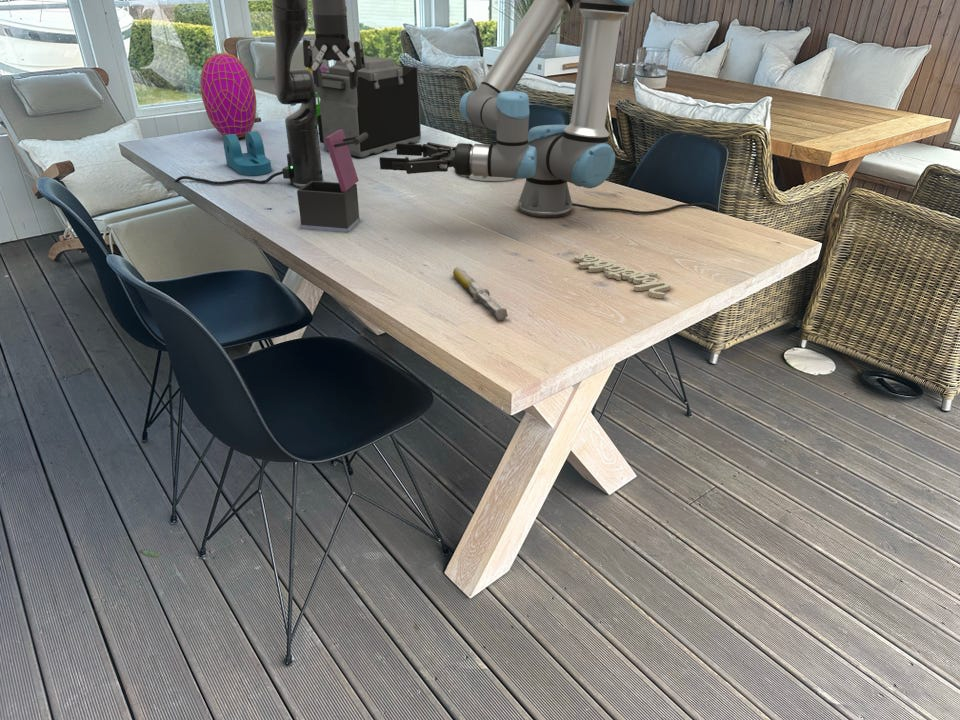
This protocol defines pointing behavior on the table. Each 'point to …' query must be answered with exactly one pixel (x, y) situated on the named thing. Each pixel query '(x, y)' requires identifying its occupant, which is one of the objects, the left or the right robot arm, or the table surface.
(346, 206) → the chest
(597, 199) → the table surface
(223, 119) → the decorative egg
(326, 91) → the tool box
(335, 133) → the lid
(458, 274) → the yellow and grey rod
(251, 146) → the camera mount
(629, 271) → the decorative sign
